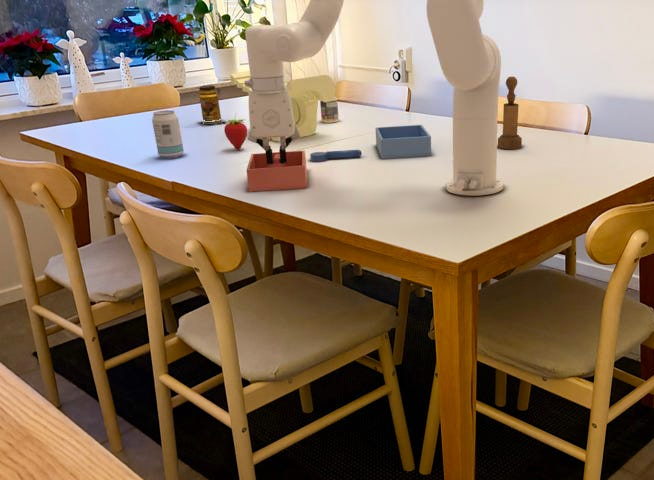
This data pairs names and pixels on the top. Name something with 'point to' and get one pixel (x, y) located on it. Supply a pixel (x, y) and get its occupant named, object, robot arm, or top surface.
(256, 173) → the bin terracotta
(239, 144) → the strawberry
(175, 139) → the beverage can
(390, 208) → the top surface
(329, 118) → the pill bottle
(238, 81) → the slatted curved stool
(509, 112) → the brown tall knobbed column
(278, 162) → the spoon terracotta
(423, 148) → the bin blue
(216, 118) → the condiment
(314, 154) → the spoon blue
